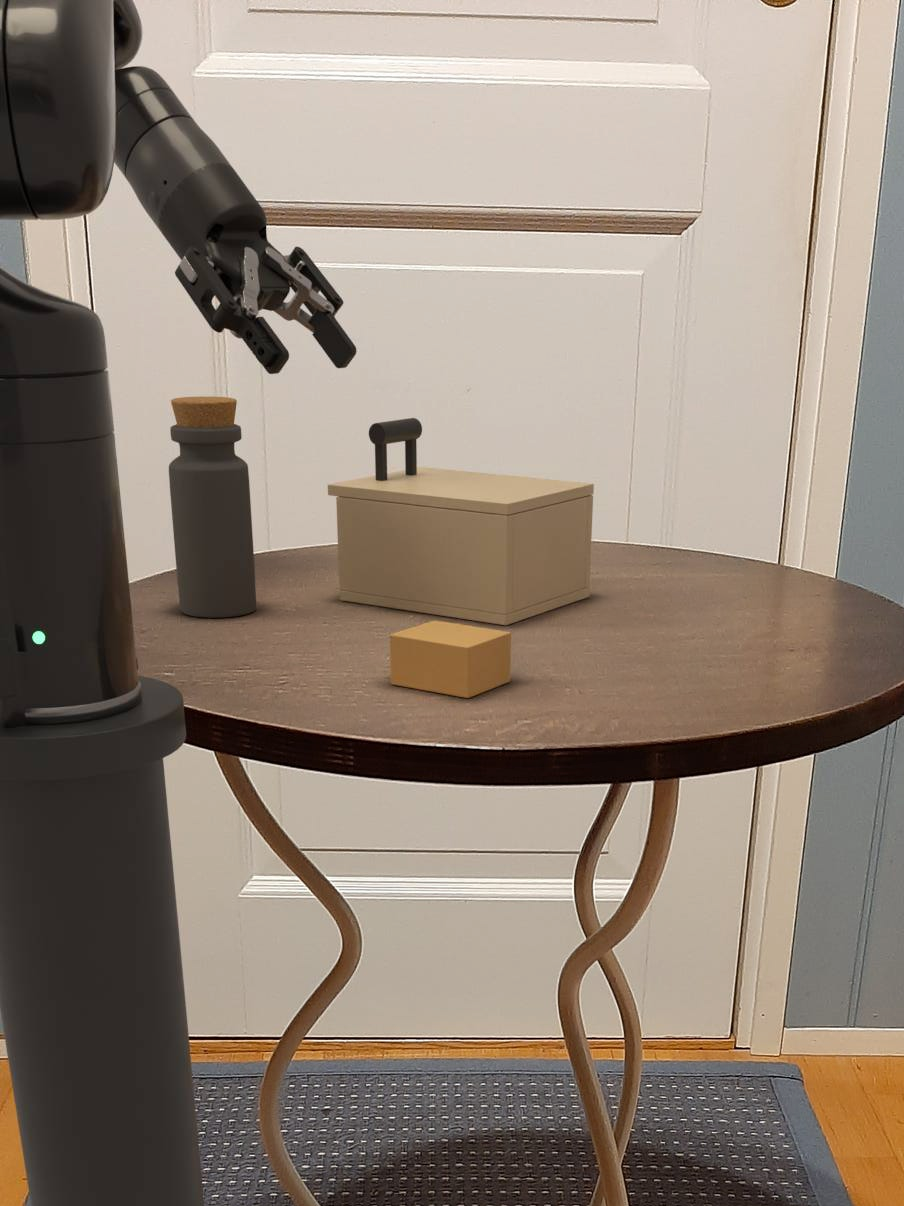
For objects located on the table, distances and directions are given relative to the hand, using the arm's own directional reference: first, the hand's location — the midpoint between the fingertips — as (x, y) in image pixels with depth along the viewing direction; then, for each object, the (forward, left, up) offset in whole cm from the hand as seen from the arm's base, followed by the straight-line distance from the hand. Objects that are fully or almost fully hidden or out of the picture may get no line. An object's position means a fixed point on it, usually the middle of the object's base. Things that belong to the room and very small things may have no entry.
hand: (315, 363), depth 120 cm
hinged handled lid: (+4, -13, -9) cm, 16 cm away
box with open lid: (+4, -14, -17) cm, 22 cm away
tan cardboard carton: (-14, -33, -17) cm, 39 cm away
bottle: (-14, -5, -17) cm, 22 cm away
